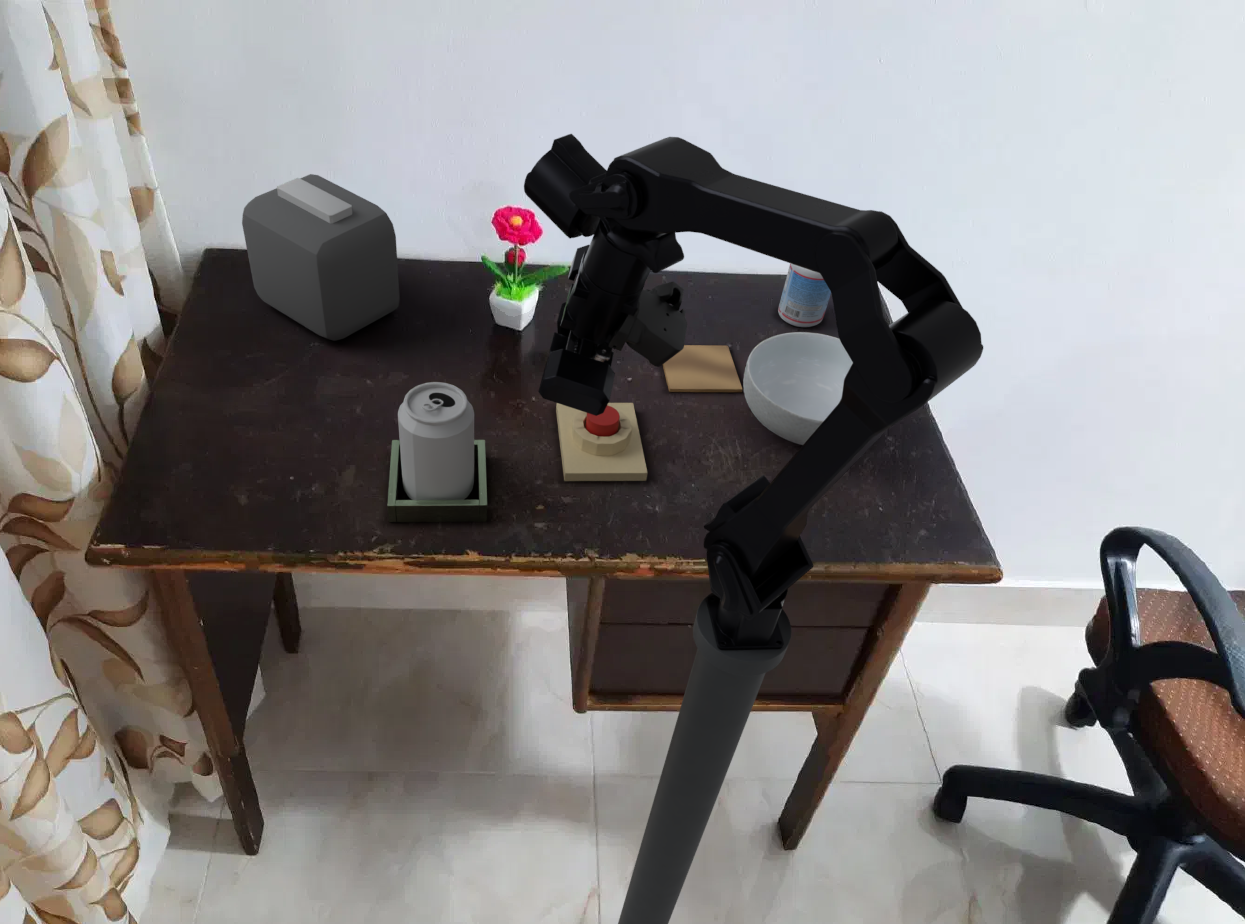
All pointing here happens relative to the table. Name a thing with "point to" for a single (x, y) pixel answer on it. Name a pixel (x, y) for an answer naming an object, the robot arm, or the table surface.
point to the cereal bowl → (795, 382)
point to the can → (436, 442)
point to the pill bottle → (803, 297)
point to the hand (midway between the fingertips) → (565, 382)
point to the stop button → (603, 422)
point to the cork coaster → (702, 370)
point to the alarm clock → (322, 256)
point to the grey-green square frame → (437, 508)
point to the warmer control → (600, 447)
